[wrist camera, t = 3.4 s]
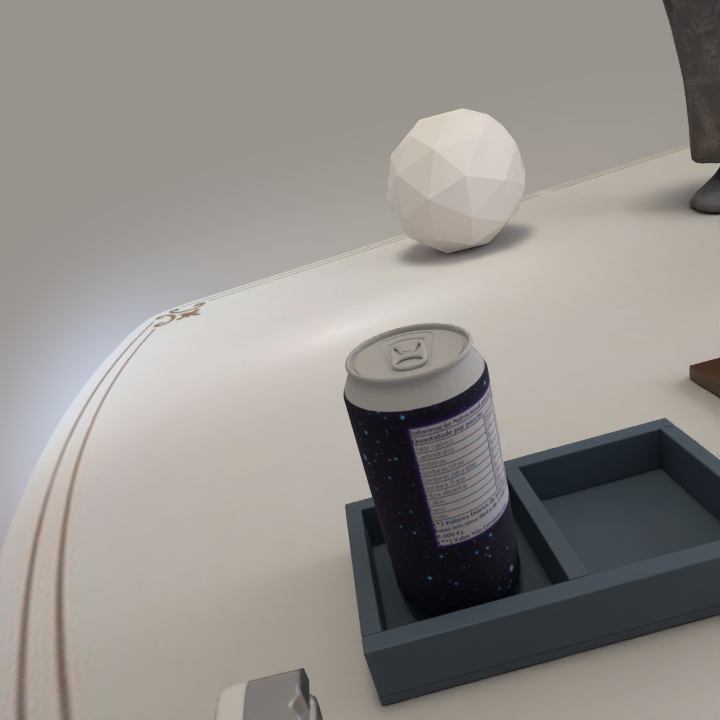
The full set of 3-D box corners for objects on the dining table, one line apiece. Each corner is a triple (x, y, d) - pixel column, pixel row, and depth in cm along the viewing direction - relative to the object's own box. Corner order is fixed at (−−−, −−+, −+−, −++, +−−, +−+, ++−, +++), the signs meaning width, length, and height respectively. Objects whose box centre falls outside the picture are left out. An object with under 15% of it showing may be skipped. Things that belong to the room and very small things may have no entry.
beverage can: (507, 528, 28) (468, 308, 23) (538, 621, 23) (496, 362, 18) (397, 547, 29) (338, 337, 24) (403, 643, 23) (330, 397, 19)
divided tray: (808, 590, 22) (814, 531, 21) (381, 706, 22) (363, 654, 21) (666, 464, 30) (665, 417, 29) (358, 547, 30) (344, 504, 29)
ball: (507, 281, 85) (582, 159, 73) (400, 277, 75) (465, 136, 63) (447, 213, 97) (503, 98, 84) (347, 202, 86) (394, 69, 74)
